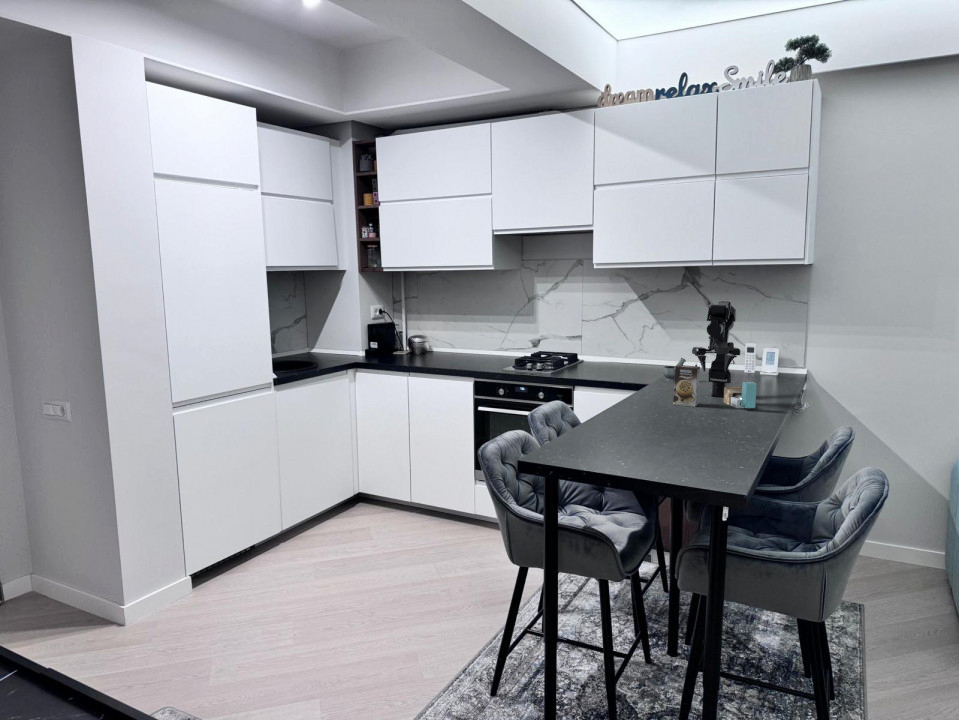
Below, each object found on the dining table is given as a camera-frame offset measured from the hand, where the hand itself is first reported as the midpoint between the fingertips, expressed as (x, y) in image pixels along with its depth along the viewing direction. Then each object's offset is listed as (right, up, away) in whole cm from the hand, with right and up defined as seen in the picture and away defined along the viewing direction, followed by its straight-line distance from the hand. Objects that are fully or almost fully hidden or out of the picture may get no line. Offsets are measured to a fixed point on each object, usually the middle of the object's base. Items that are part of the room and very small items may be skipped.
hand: (714, 371), depth 281 cm
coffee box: (-14, -14, -4) cm, 20 cm away
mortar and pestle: (-2, -6, +54) cm, 54 cm away
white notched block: (+8, -14, -8) cm, 18 cm away
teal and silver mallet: (+8, -13, -9) cm, 18 cm away
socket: (+8, -13, -1) cm, 16 cm away
